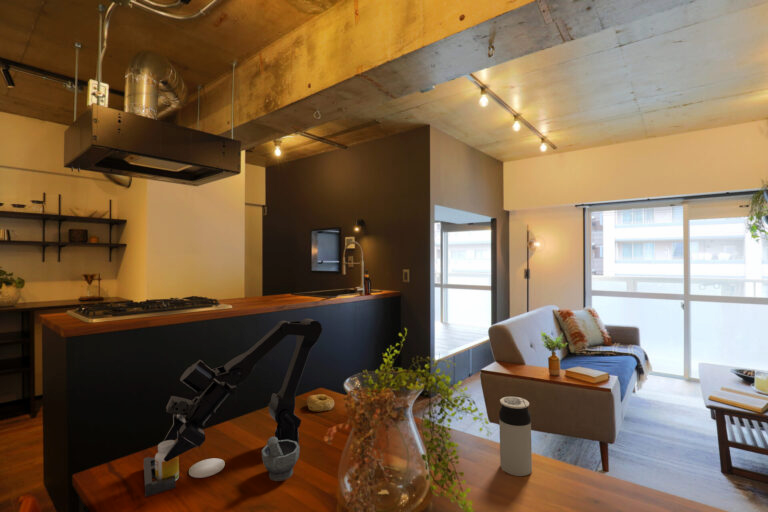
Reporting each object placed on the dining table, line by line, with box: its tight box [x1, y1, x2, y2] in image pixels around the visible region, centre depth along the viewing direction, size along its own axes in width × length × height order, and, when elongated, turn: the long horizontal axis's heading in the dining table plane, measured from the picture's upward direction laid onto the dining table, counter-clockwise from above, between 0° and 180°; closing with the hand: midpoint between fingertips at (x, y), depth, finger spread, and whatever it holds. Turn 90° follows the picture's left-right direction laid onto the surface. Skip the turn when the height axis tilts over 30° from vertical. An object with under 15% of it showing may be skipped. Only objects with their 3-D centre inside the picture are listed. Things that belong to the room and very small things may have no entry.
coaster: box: [188, 457, 226, 479], centre depth 104 cm, size 9×9×1 cm
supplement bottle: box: [154, 440, 180, 482], centre depth 99 cm, size 5×5×10 cm
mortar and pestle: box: [261, 436, 301, 482], centre depth 100 cm, size 11×9×12 cm
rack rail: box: [143, 456, 176, 498], centre depth 100 cm, size 6×15×3 cm, turn 33°
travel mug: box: [498, 396, 533, 477], centre depth 101 cm, size 8×8×18 cm
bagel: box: [306, 393, 335, 413], centre depth 145 cm, size 10×11×5 cm
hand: (163, 453), depth 98 cm, fingers open, 9 cm apart
